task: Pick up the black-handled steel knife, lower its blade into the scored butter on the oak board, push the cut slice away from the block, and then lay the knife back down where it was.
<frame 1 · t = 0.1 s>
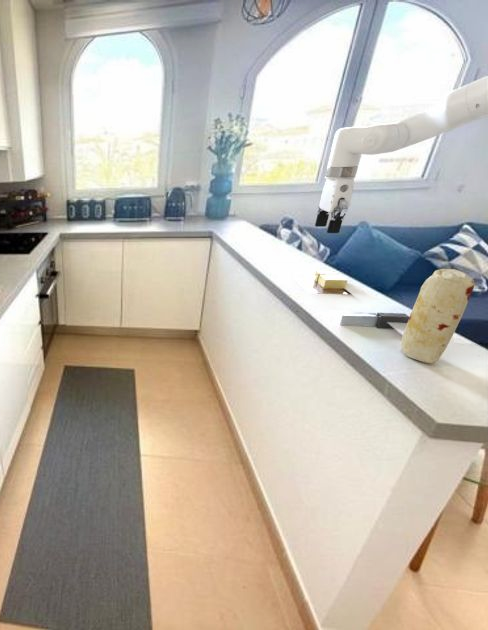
hand: (326, 229, 112), 19 cm above the table, tool pointing down, fingers open, 9 cm apart
butter block: (330, 285, 113), point 1 cm above the table, touching board
knife: (375, 326, 91), on the table
board: (321, 288, 115), on the table
butter slice: (325, 280, 117), point 1 cm above the table, touching board
food model: (416, 355, 78), on the table
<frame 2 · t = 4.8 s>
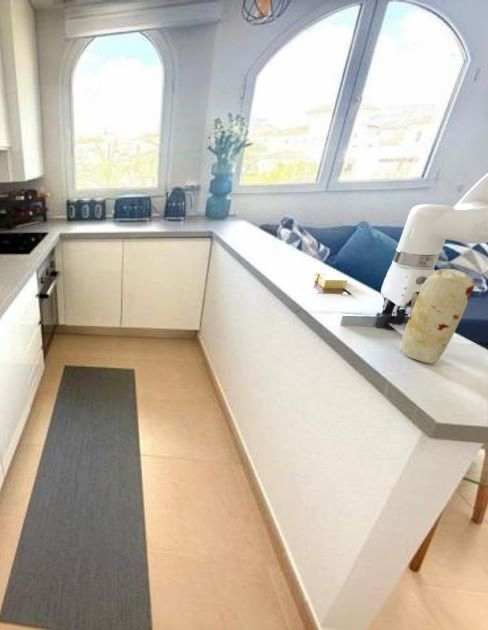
hand: (389, 325, 90), 0 cm above the table, tool pointing down, fingers closed on knife, 2 cm apart
knife: (375, 326, 91), on the table, touching gripper
everything else where it was.
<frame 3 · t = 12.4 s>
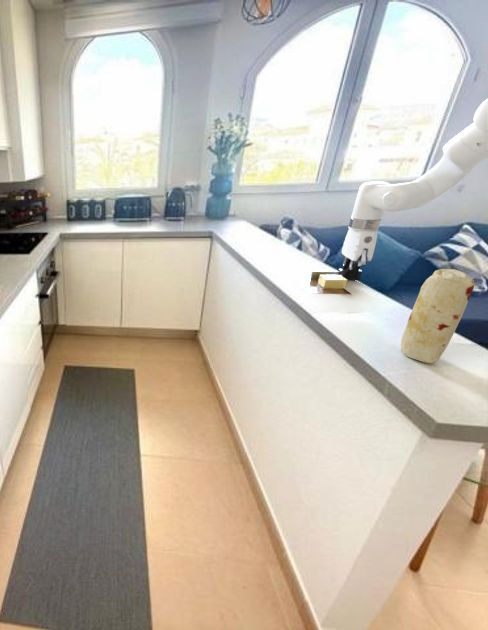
hand: (347, 278, 116), 2 cm above the table, tool pointing down, fingers closed on knife, 2 cm apart
knife: (337, 279, 117), point 2 cm above the table, touching butter slice, gripper
butter slice: (322, 278, 119), point 2 cm above the table, touching board, knife
everything else where it was.
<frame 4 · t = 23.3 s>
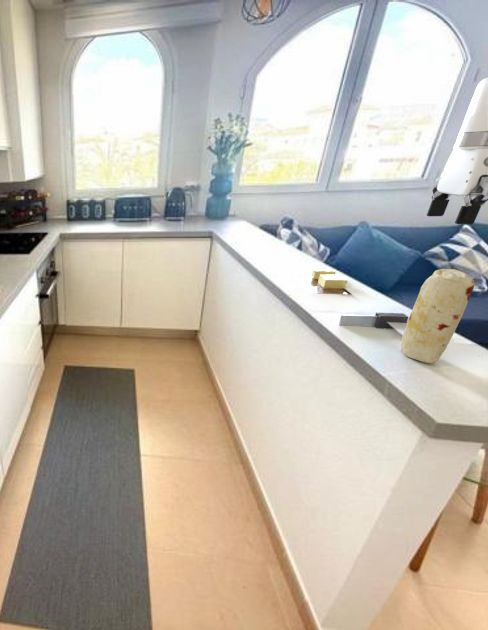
hand: (448, 219, 83), 26 cm above the table, tool pointing down, fingers open, 9 cm apart
knife: (373, 326, 91), on the table
butter slice: (322, 278, 119), point 1 cm above the table, touching board
everything else where it was.
at the end: butter slice moved 2.5 cm from its start; butter block moved 0.0 cm from its start; knife inside the target area (0.3 cm from its centre), on the table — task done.
